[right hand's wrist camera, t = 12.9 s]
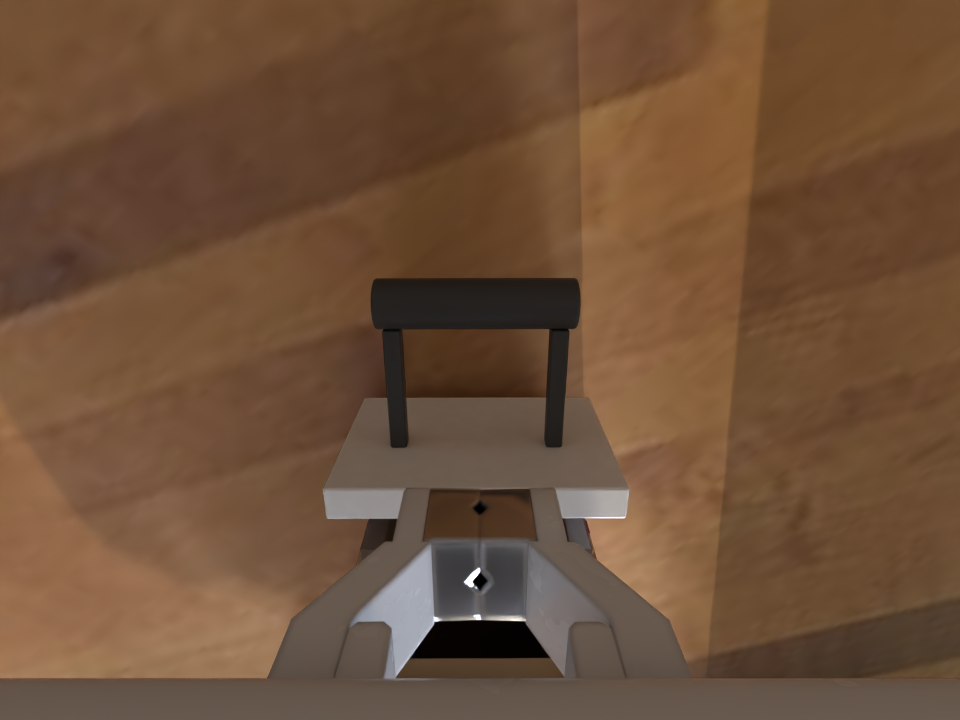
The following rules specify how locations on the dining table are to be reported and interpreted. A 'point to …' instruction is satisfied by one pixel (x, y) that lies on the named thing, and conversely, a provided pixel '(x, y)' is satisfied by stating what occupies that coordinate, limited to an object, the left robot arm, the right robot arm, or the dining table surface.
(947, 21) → the dining table surface
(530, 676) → the cabinet
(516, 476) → the drawer
